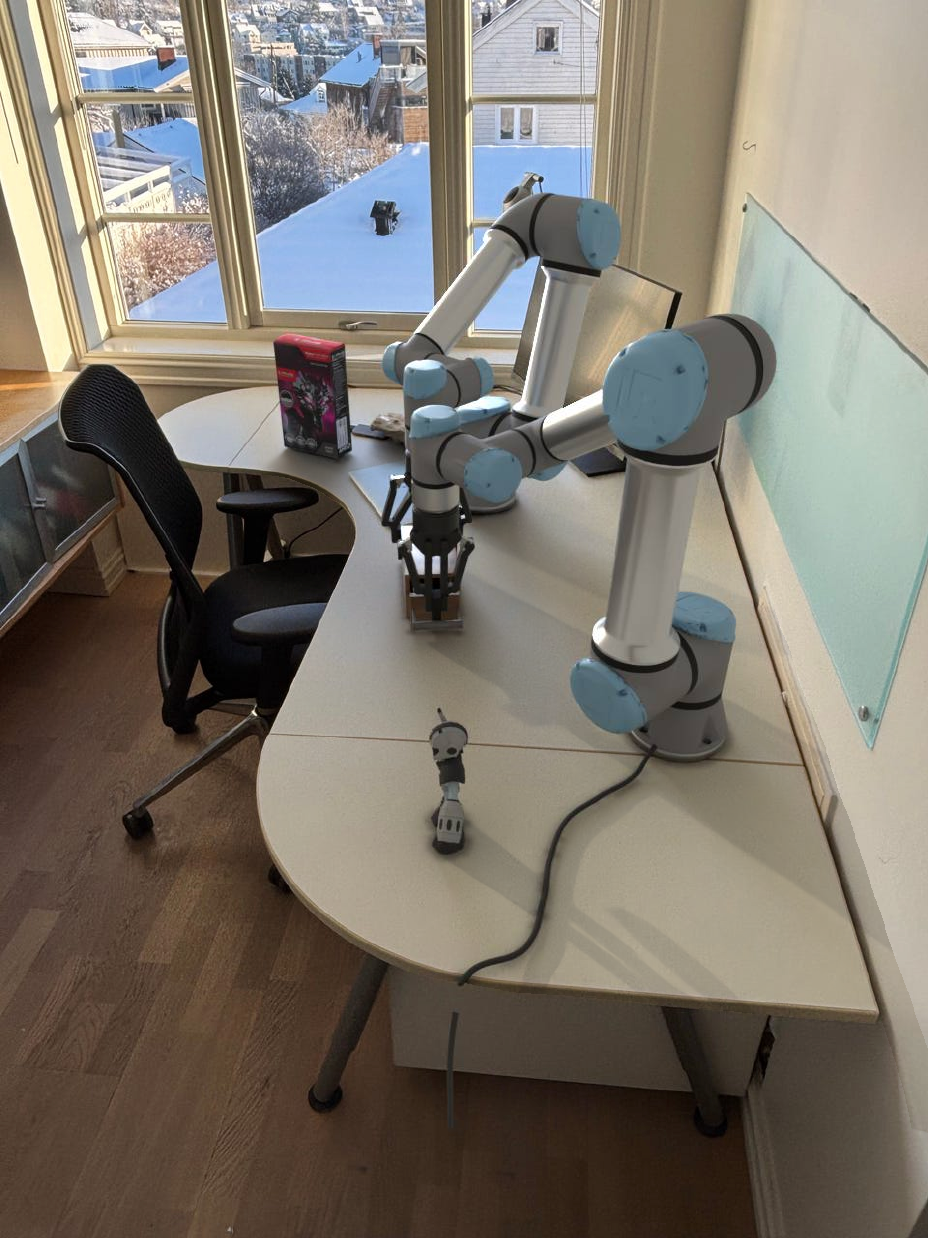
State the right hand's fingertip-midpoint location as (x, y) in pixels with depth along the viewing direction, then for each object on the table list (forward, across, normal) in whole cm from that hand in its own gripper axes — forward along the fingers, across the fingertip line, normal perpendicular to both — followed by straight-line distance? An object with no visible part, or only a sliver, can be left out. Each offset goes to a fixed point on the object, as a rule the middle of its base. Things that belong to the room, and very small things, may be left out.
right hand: (436, 625), depth 160 cm
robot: (+4, +1, +44) cm, 44 cm away
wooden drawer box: (+4, 0, -18) cm, 19 cm away
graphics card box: (+5, +24, -86) cm, 89 cm away
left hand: (0, 0, -24) cm, 24 cm away
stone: (+5, +2, -89) cm, 89 cm away
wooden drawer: (+3, 0, -9) cm, 9 cm away
